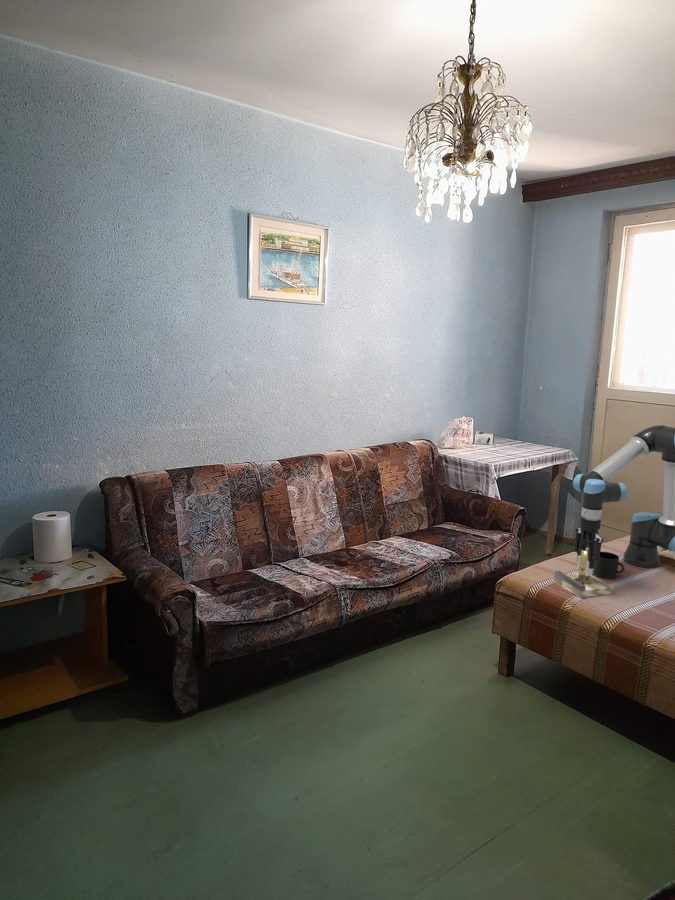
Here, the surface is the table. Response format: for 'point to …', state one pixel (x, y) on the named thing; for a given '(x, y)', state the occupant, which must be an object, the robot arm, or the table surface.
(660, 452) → the robot arm
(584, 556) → the pale yellow cylinder
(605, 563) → the mug
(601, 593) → the jig
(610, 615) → the table surface
